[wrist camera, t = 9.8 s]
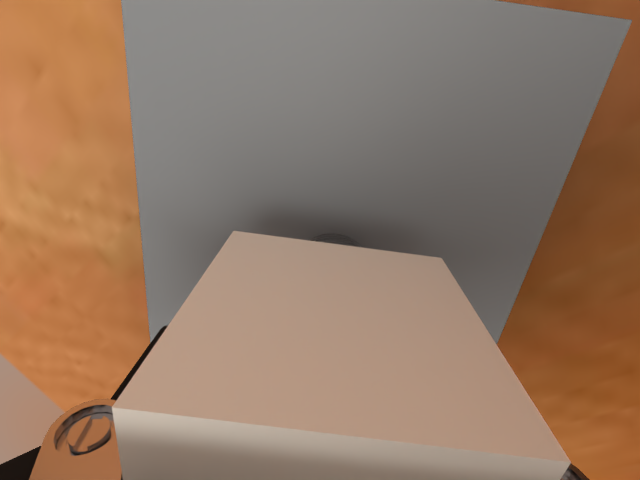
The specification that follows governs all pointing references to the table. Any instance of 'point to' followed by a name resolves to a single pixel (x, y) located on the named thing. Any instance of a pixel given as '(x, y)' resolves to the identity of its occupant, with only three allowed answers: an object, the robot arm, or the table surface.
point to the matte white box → (329, 376)
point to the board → (358, 130)
